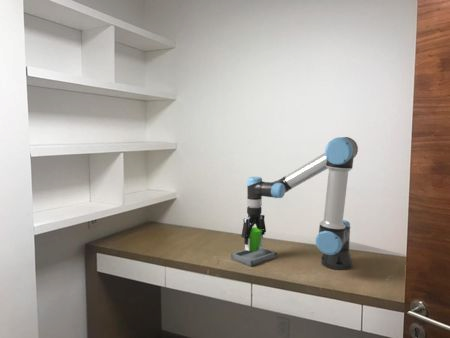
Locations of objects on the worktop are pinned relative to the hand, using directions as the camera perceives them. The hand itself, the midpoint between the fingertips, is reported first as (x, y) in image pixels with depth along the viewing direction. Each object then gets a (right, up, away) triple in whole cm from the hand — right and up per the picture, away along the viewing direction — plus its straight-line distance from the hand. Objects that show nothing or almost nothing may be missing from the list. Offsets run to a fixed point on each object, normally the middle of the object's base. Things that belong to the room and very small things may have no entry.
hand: (253, 248), depth 190 cm
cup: (0, -1, 0) cm, 1 cm away
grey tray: (0, -6, +1) cm, 6 cm away
